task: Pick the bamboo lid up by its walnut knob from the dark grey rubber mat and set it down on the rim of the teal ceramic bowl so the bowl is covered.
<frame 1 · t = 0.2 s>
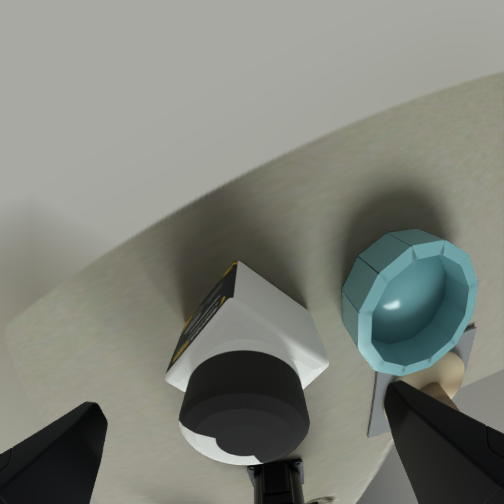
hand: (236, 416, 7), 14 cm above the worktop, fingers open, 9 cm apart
lid: (423, 388, 25), resting on mat
medicine bottle: (246, 318, 23), on the worktop
mat: (422, 386, 25), on the worktop
bowl: (401, 293, 22), on the worktop
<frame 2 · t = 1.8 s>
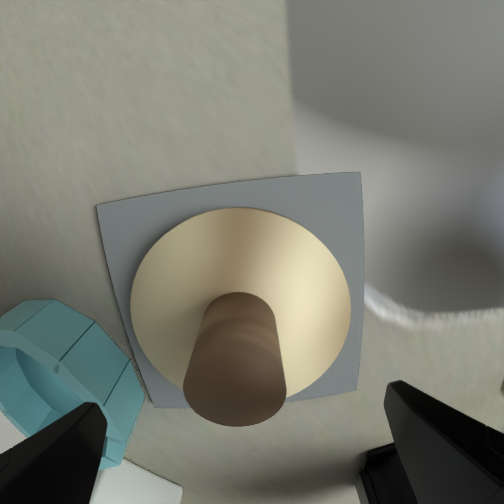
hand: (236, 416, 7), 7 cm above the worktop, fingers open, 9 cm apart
lid: (239, 315, 14), resting on mat
medicine bottle: (132, 478, 19), on the worktop
mat: (240, 311, 14), on the worktop
bowl: (68, 374, 15), on the worktop
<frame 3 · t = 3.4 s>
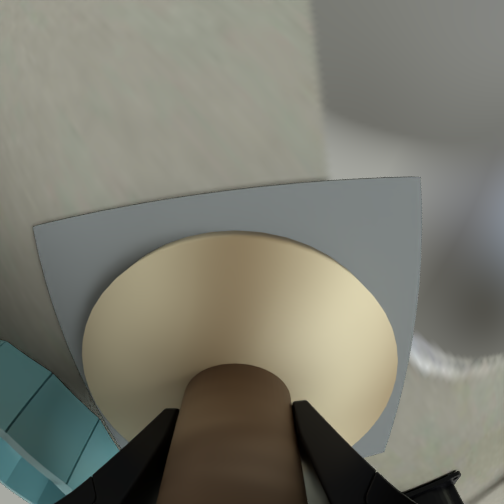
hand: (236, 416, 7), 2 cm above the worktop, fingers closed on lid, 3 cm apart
lid: (238, 383, 9), resting on mat, touching gripper
mat: (238, 376, 9), on the worktop
bowl: (35, 421, 11), on the worktop
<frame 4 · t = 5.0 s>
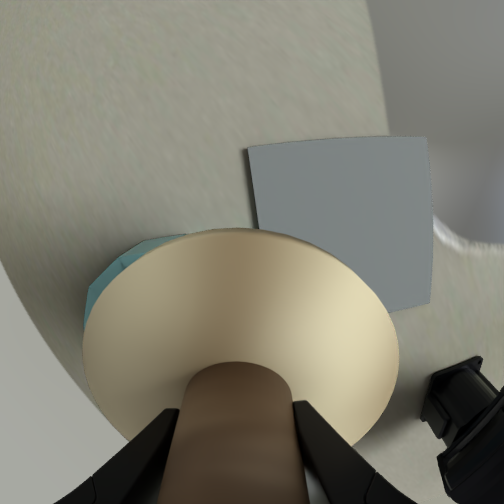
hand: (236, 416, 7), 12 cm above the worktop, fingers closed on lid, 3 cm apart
lid: (239, 382, 9), point 10 cm above the worktop, touching gripper
mat: (354, 232, 18), on the worktop
bowl: (181, 314, 20), on the worktop
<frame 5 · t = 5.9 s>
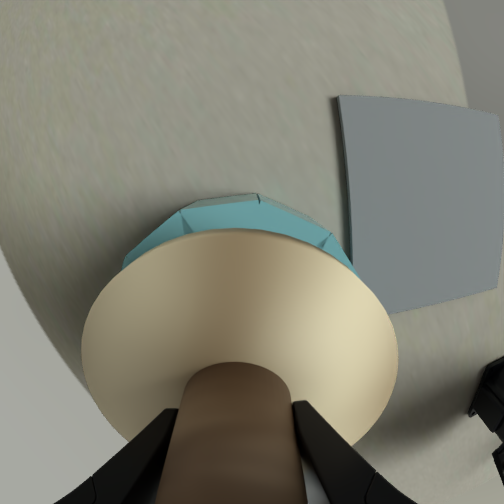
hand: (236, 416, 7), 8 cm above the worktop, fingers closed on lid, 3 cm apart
lid: (237, 382, 9), point 7 cm above the worktop, touching gripper
mat: (440, 205, 14), on the worktop
bowl: (240, 299, 16), on the worktop
when the fingers open (7 cm above the worktop, at t = 6.7 s): lid drops 2 cm, resting on bowl.
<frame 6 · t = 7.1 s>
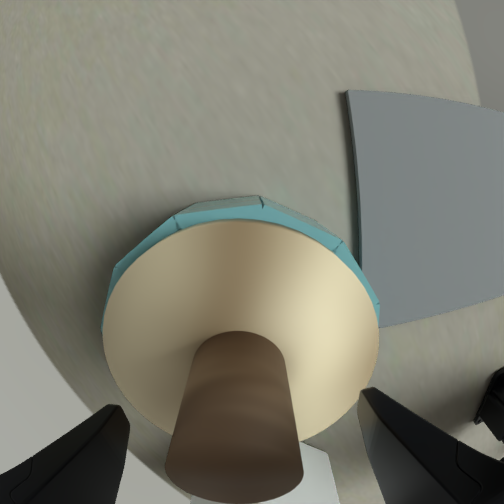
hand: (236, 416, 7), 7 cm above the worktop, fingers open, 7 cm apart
lid: (239, 354, 11), point 4 cm above the worktop, touching bowl
medicine bottle: (261, 457, 18), on the worktop
mat: (453, 209, 13), on the worktop
bowl: (241, 309, 14), on the worktop
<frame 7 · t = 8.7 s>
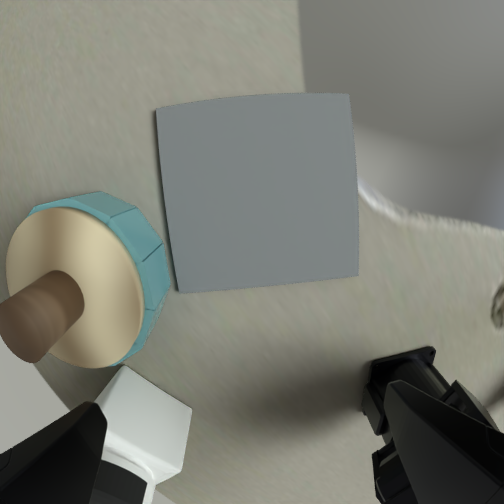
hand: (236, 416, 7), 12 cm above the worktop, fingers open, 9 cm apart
lid: (70, 290, 15), point 4 cm above the worktop, touching bowl
medicine bottle: (141, 404, 23), on the worktop
mat: (262, 191, 18), on the worktop
bowl: (97, 270, 19), on the worktop
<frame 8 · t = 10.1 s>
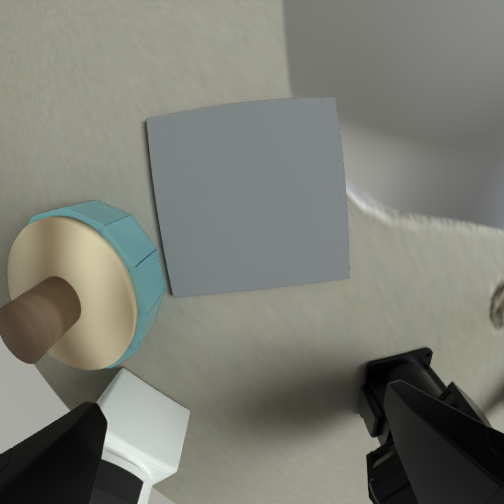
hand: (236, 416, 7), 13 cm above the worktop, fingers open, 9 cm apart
lid: (68, 295, 16), point 4 cm above the worktop, touching bowl
medicine bottle: (140, 406, 23), on the worktop
mat: (251, 196, 18), on the worktop
bowl: (95, 275, 20), on the worktop
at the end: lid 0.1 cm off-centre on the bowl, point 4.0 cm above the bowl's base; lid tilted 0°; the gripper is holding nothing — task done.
